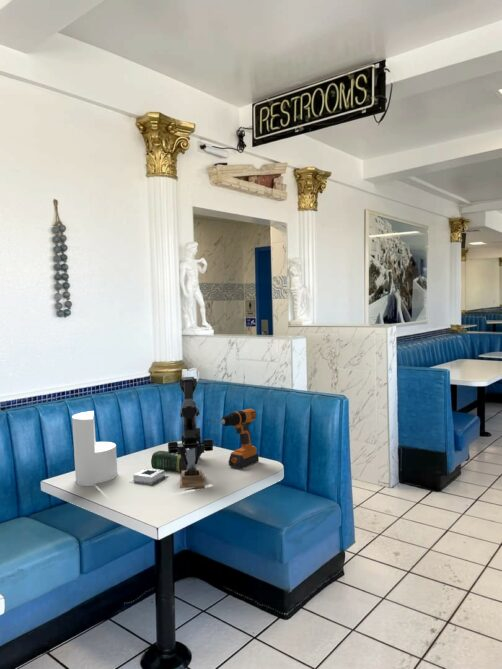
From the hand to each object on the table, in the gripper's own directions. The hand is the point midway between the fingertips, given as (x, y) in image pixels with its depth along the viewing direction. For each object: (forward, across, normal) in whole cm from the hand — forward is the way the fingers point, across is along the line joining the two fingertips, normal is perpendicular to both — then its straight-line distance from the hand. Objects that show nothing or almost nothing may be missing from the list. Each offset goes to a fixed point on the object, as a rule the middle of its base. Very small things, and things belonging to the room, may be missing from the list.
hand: (191, 464), depth 212 cm
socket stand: (+1, -18, +10) cm, 21 cm away
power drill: (-7, +22, +19) cm, 30 cm away
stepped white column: (-5, -41, +17) cm, 44 cm away
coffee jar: (-14, -16, +20) cm, 29 cm away
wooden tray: (+5, 0, +7) cm, 8 cm away
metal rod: (+3, 0, +5) cm, 6 cm away
